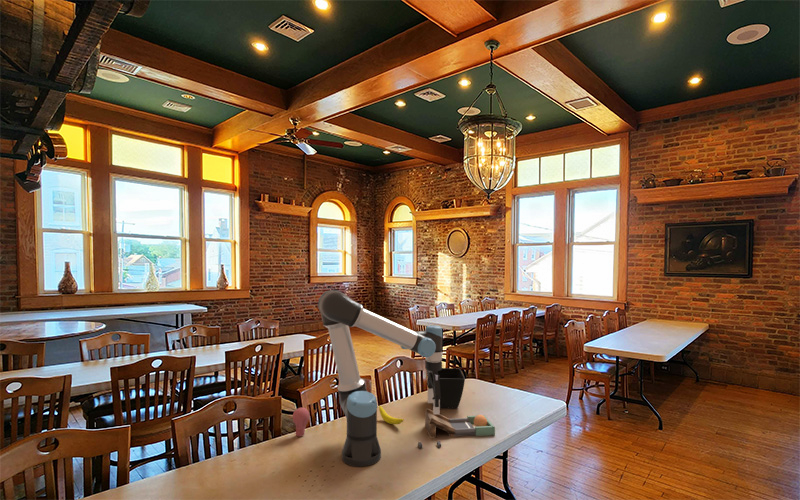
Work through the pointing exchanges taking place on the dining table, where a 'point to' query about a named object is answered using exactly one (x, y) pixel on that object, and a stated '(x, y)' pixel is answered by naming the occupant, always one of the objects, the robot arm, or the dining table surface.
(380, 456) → the robot arm
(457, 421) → the runway
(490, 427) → the green open tray
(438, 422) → the ramp
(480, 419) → the ball
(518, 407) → the dining table surface
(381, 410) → the banana
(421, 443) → the grey flat pieces
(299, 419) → the light bulb
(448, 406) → the flower pot
